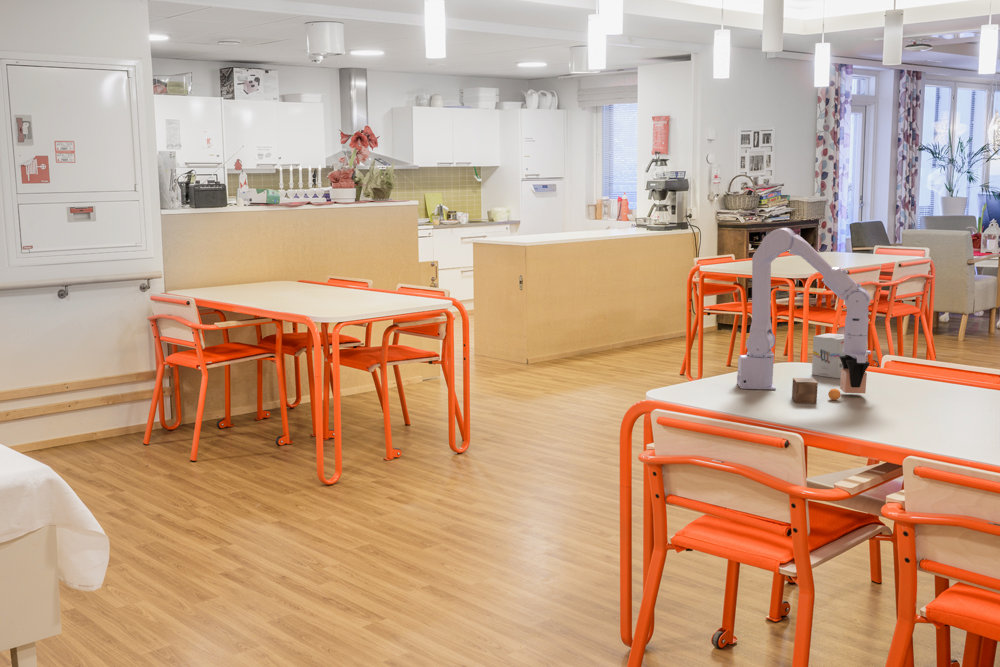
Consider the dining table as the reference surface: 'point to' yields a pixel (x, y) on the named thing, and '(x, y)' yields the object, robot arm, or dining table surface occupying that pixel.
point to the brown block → (804, 390)
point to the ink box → (827, 355)
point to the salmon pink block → (846, 385)
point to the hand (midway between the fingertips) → (852, 384)
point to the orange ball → (834, 394)
